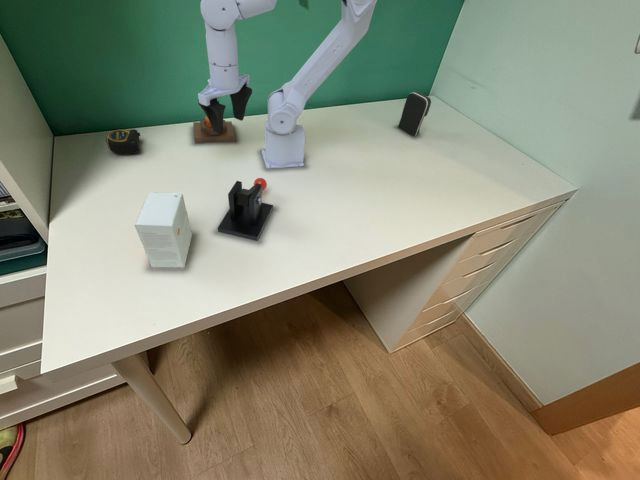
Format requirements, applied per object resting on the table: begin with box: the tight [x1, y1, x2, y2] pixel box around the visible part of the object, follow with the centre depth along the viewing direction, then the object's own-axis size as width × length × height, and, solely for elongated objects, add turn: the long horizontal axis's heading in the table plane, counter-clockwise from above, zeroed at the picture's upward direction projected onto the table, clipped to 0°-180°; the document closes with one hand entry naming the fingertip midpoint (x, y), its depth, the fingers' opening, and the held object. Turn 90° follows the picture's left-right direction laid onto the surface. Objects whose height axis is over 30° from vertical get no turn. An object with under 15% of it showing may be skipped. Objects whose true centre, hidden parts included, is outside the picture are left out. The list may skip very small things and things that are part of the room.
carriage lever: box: [237, 177, 268, 207], centre depth 67 cm, size 12×3×3 cm, turn 168°
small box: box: [134, 191, 193, 268], centre depth 55 cm, size 8×6×10 cm
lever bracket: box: [217, 180, 274, 242], centre depth 64 cm, size 10×8×8 cm
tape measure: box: [105, 129, 141, 155], centre depth 77 cm, size 7×7×4 cm
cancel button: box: [204, 115, 212, 127], centre depth 84 cm, size 4×4×2 cm
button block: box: [192, 117, 236, 145], centre depth 86 cm, size 10×8×4 cm
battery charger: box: [397, 91, 432, 137], centre depth 98 cm, size 7×4×11 cm, turn 41°
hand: (228, 125), depth 75 cm, fingers open, 7 cm apart
